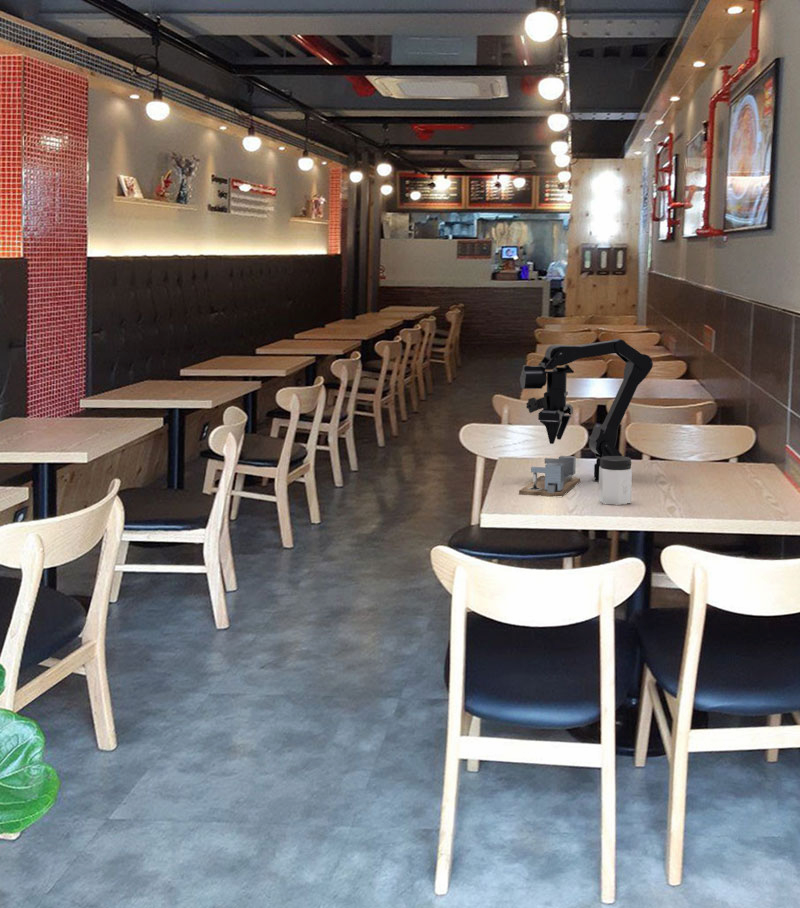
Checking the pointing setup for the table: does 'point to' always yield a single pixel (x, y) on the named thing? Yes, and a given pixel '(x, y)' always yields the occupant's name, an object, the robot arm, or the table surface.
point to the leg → (550, 475)
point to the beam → (568, 470)
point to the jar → (615, 480)
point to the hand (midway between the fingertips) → (555, 441)
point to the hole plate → (541, 490)
